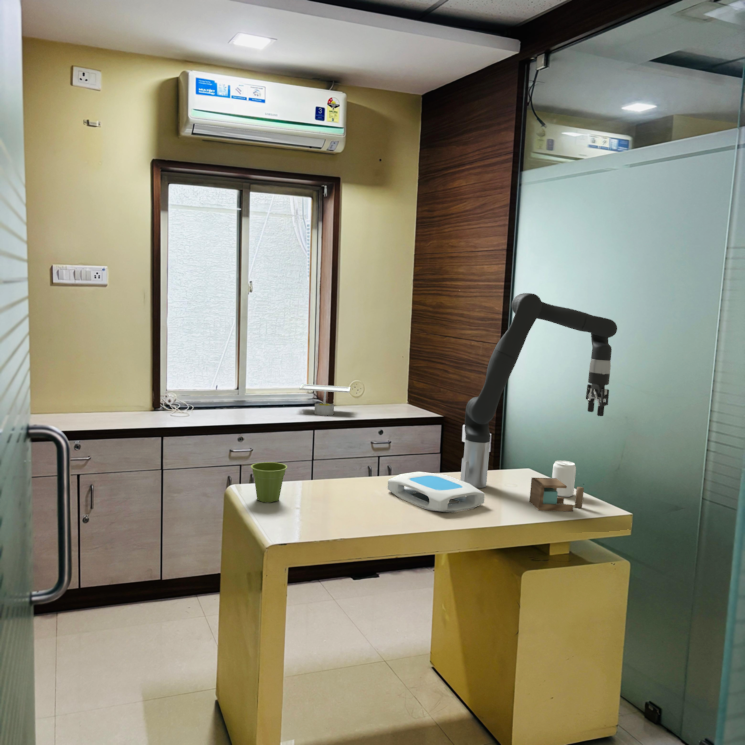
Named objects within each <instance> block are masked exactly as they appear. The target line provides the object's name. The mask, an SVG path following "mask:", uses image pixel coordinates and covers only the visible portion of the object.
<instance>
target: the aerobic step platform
mask: <svg viewBox="0 0 745 745" xmlns="http://www.w3.org/2000/svg"><path fill="white" fill-rule="evenodd" d="M387 490H388V491H389V492H390V493H391V494H393V495H394V496H396V497H397V498H398V499H401V500H403V501H405V502H408V503H409V504H412V505H414V506H417V507H419V508H422V509H424V510H426V511H434V512H440V513H441V512H443V513H450V512H451V513H457V511H459V512H463V510H464V511H469V510H473V509H475V508H476V507H478V506H481V505H482V504H484V503H485V498H486V497H485V492H483V491H482V490H480V489H479V488H475V487H474V486H472V485H471V484H469V483H466V482H464V481H461V480H460V479H458V478H455V477H453V476H450V475H446V474H441V473H440V474H439V473H433V472H425V471H413V472H406V473H400V474H397V475H395V476H394V477H391V478H389V479H387ZM417 493H420V494H423V495H425V496H427V497H428V499H429V500H428V501H426V500H424V499H421V498H418V497H417V496H415V495H414V494H417ZM452 499H453V500H455V501H457V502H453V503H449V502H450V500H452ZM468 509H469V510H468Z"/></svg>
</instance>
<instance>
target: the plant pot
mask: <svg viewBox="0 0 745 745" xmlns="http://www.w3.org/2000/svg"><path fill="white" fill-rule="evenodd" d="M250 468H251V469H252V475H253V478H254V485H255V495H256V500H257V501H260V502H261V503H273V502H278V501H279V500H280V497H281V491H282V485H283V481H284V476H285V473H286V470H287V469H288V465H287V464H284V463H282V462H281V463H280V462H276V461H275V462H274V461H269V462H268V461H264V462H256V463H253V464H251V465H250Z"/></svg>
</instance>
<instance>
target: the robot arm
mask: <svg viewBox="0 0 745 745" xmlns="http://www.w3.org/2000/svg"><path fill="white" fill-rule="evenodd" d="M510 307H511V310H512V311H513V314H514V316H513V318H512V321H511V323H510V325H509V327H508V329H507V330H506V331H505V333H504V334H503V335H502V336H501V338H500V339H499V340H498V341H497V344H496V345H495V347H494V350H493V351H492V354H491V356H490V358H489V362H488V364H487V369H486V375H485V381H484V384H483V387H482V389H481V390H480V393H479V395H478V396H474V397H472V398H471V399H469V400H468V401H467V403H466V407H465V413H464V414H465V415H464V435H465V436H464V448H463V449H464V450H463V457H462V458H461V468H460V469H461V470H460V479H459V480H461V481H464V482H466V483H469V484H471V485H472V486H474V487H475V488H477V489H484V488H486V487H487V482H488V470H489V459H490V458H489V457H490V444H491V433H490V426H489V425H490V422H491V421H492V420H493V418H494V417H495V414H496V411H497V409H498V405H499V402H500V400H501V397H502V393H503V391H504V390H505V387H506V385H507V383H508V381H509V379H510V376H511V374H512V372H513V370H514V368H515V366H516V364H517V362H518V359H519V356H520V354H521V352H522V349H523V347H524V345H525V342H526V340H527V337H528V335H529V332H530V331H531V329H532V328H533V326H534V324H535V322H536V320H537V319H538V320H542V321H546V322H550V323H553V324H555V325H559V326H562V327H565V328H568V329H572V330H574V331H578V332H584V333H590V338H591V346H592V350H591V357H590V362H589V370H588V380H587V382H588V383H587V385H586V391H585V392H586V394H585V400H586V401H587V412H589V413H593V412H594V411H595V402H597V405H598V406H597V412H596V415H597V416H598V417H603V416H604V414H605V407H606V406H608V405H609V396H610V390H609V389H608V388H606V386H608V385H610V375H611V367H612V365H611V361H612V346H611V345H610V343H609V338H612V337H613V336H615V335H616V333H617V331H618V326H617V325H618V324H616V322H615V321H614V320H613V319H610V318H606V317H601V316H597V315H592V314H590V313H587V312H584V311H580V310H577V309H573V308H569V307H564V306H558V305H553V304H550V303H546V302H543V301H542V300H541V298H540V297H539V296H538V295H537V294H535V293H531V292H530V293H529V292H523V293H520V294H517V295H516V296H514V298H513V299H512V301H511V306H510Z"/></svg>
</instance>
